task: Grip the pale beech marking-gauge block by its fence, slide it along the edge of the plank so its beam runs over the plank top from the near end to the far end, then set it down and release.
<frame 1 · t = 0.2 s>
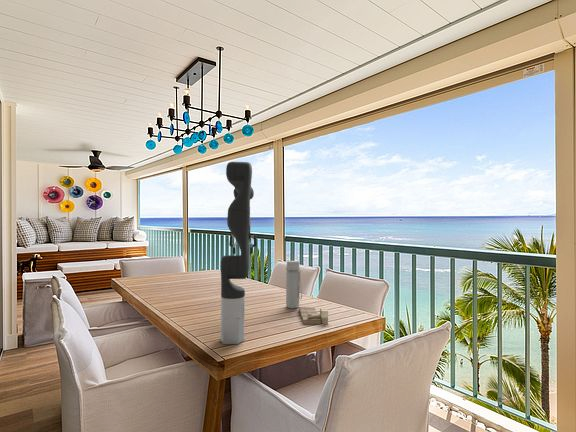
hand: (242, 254, 173), 29 cm above the table, tool pointing down, fingers open, 8 cm apart
plank: (309, 316, 160), on the table
gauge: (323, 322, 152), on the table
water bottle: (294, 307, 178), on the table
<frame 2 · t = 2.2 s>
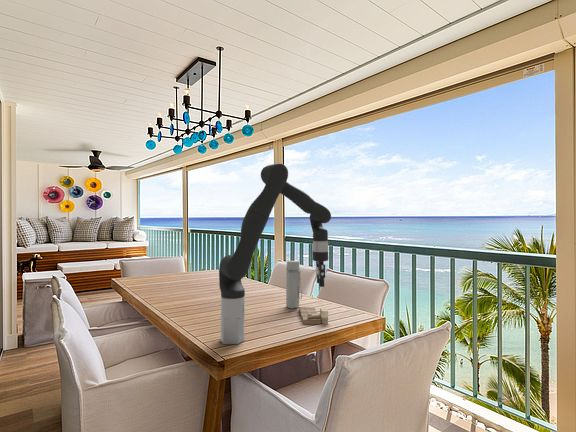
hand: (320, 284, 154), 17 cm above the table, tool pointing down, fingers open, 8 cm apart
nothing on the table moved.
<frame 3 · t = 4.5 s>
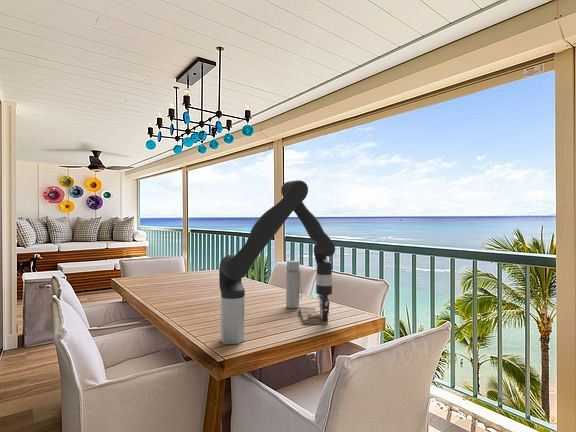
hand: (323, 319, 152), 1 cm above the table, tool pointing down, fingers closed on gauge, 5 cm apart
gauge: (323, 321, 152), on the table, touching gripper
everything else where it was.
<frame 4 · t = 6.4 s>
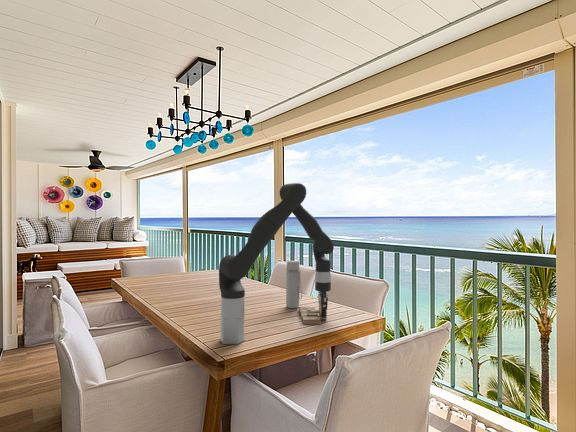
hand: (322, 315, 157), 1 cm above the table, tool pointing down, fingers closed on gauge, 5 cm apart
gauge: (322, 317, 157), point 1 cm above the table, touching gripper
everything else where it was.
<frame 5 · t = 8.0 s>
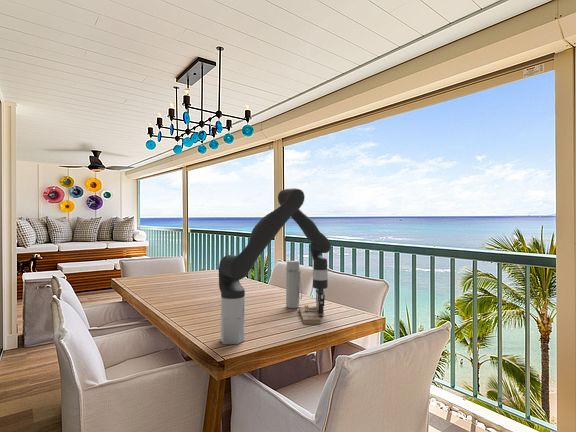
hand: (319, 311, 164), 1 cm above the table, tool pointing down, fingers closed on gauge, 5 cm apart
gauge: (319, 313, 164), on the table, touching gripper
everything else where it was.
when the fingers open (1 cm above the table, at t = 8.7 s): gauge stays where it is, on the table.
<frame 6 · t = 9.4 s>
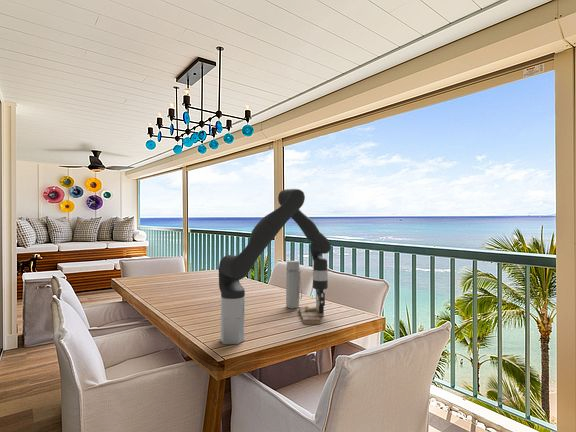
hand: (319, 311, 164), 2 cm above the table, tool pointing down, fingers open, 8 cm apart
gauge: (319, 314, 164), on the table
everything else where it was.
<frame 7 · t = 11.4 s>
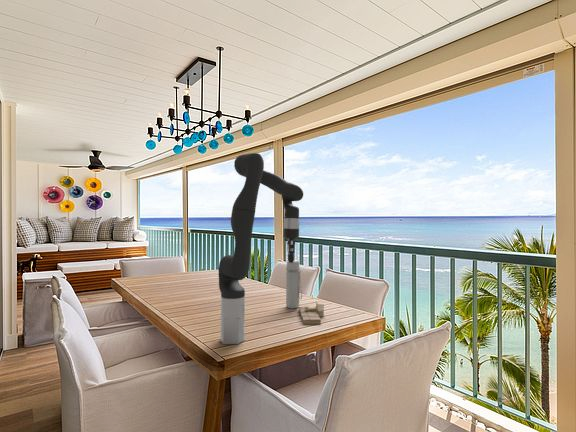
hand: (290, 261, 157), 28 cm above the table, tool pointing down, fingers open, 8 cm apart
nothing on the table moved.
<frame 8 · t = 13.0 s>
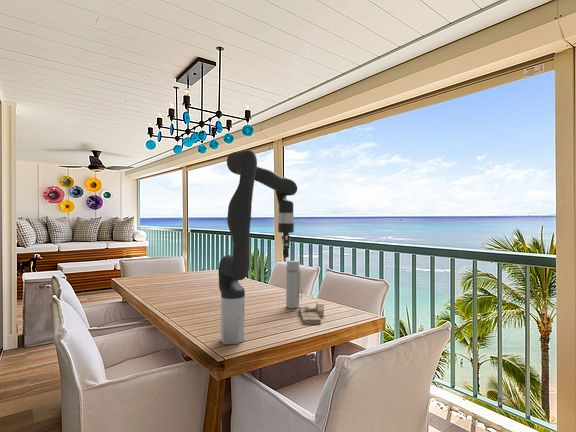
hand: (285, 256, 156), 30 cm above the table, tool pointing down, fingers open, 8 cm apart
nothing on the table moved.
at the end: gauge 0.8 cm from the target spot on the table beside the plank, on the table; gauge moved 11.9 cm from its start; gauge tilted 0° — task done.
